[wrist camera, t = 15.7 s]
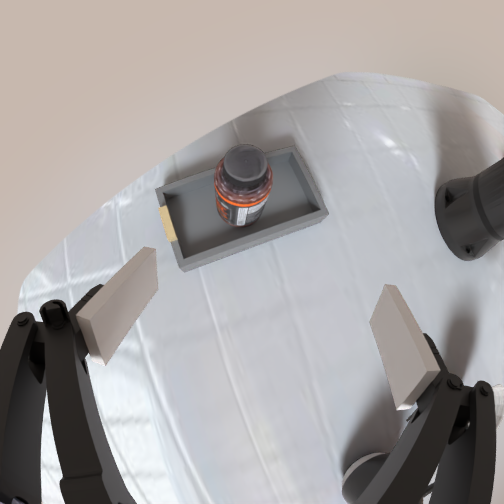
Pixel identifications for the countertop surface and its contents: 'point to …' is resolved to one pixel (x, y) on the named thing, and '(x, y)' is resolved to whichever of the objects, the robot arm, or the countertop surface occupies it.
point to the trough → (230, 237)
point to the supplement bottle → (242, 185)
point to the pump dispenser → (366, 476)
